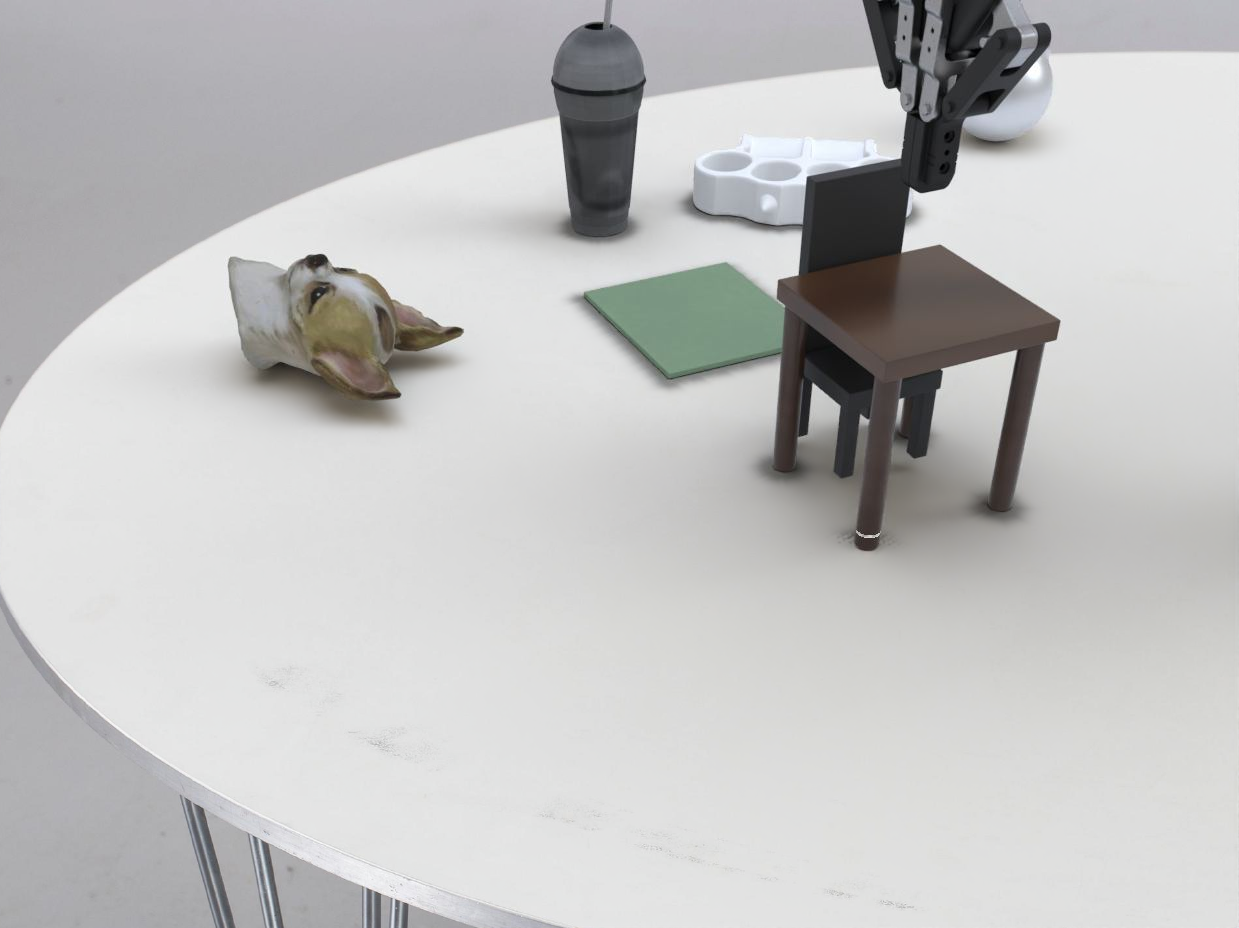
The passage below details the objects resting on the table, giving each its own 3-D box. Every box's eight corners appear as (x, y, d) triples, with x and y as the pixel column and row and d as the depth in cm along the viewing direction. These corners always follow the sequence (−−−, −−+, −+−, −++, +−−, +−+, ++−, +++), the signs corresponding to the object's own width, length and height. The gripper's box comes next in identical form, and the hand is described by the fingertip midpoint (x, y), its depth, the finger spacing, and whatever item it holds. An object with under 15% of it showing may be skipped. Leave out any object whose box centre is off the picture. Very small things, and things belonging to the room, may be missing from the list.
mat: (822, 342, 101) (822, 337, 100) (668, 379, 97) (669, 373, 97) (726, 266, 111) (726, 261, 110) (583, 296, 107) (583, 291, 107)
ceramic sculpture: (268, 203, 99) (466, 247, 95) (281, 318, 104) (468, 364, 100) (179, 267, 91) (390, 317, 87) (198, 387, 97) (397, 439, 93)
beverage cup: (572, 203, 121) (567, -56, 108) (655, 213, 119) (660, -49, 106) (541, 237, 115) (532, -32, 103) (628, 248, 113) (629, -24, 101)
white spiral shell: (1067, 149, 129) (1090, 32, 123) (971, 160, 127) (989, 42, 121) (1018, 116, 136) (1038, 3, 129) (926, 126, 134) (941, 12, 127)
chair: (930, 456, 87) (971, 196, 77) (839, 481, 85) (869, 217, 75) (871, 409, 92) (903, 157, 82) (784, 431, 90) (806, 175, 80)
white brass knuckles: (910, 171, 125) (911, 240, 114) (703, 162, 128) (685, 228, 116) (915, 133, 123) (917, 198, 112) (705, 123, 125) (686, 187, 114)
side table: (1021, 508, 84) (1061, 319, 77) (861, 555, 81) (886, 362, 73) (914, 422, 92) (940, 243, 84) (763, 462, 89) (777, 279, 81)
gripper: (1146, -176, 61) (1064, 219, 72) (959, -221, 70) (912, 135, 81) (1000, -160, 59) (938, 246, 69) (827, -209, 68) (797, 156, 79)
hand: (924, 185), depth 75 cm, fingers closed
